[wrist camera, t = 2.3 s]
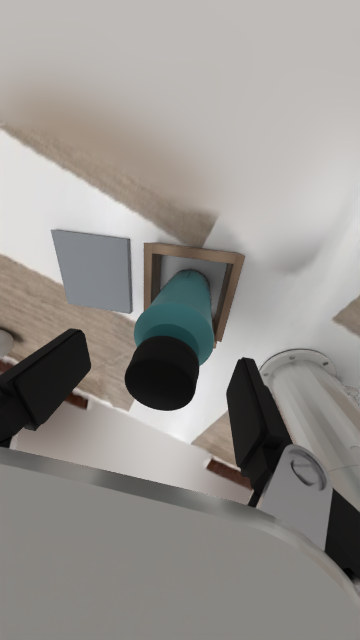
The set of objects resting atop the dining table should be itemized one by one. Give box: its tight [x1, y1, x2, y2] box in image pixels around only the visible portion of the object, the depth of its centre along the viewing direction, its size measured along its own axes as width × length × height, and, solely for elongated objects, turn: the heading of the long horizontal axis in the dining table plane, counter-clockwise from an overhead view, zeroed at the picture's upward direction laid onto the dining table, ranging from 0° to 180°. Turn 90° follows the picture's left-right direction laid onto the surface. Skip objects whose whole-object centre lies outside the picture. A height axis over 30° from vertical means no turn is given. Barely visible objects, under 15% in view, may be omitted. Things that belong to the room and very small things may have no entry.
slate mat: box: [51, 230, 132, 314], centre depth 27 cm, size 12×12×1 cm
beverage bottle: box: [125, 270, 214, 411], centre depth 17 cm, size 6×7×20 cm
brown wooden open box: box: [144, 243, 245, 348], centre depth 23 cm, size 12×12×7 cm
